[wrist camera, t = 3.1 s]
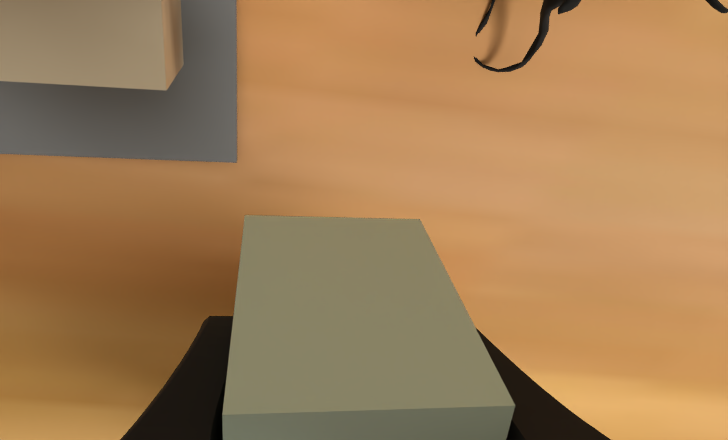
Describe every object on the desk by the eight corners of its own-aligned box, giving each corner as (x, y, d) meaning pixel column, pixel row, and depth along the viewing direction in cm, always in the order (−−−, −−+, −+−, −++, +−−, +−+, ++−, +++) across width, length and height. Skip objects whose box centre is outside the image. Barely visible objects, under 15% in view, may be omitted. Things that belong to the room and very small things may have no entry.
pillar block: (399, 356, 15) (467, 584, 10) (244, 358, 14) (225, 605, 9) (419, 219, 13) (515, 406, 8) (245, 215, 13) (222, 415, 7)
